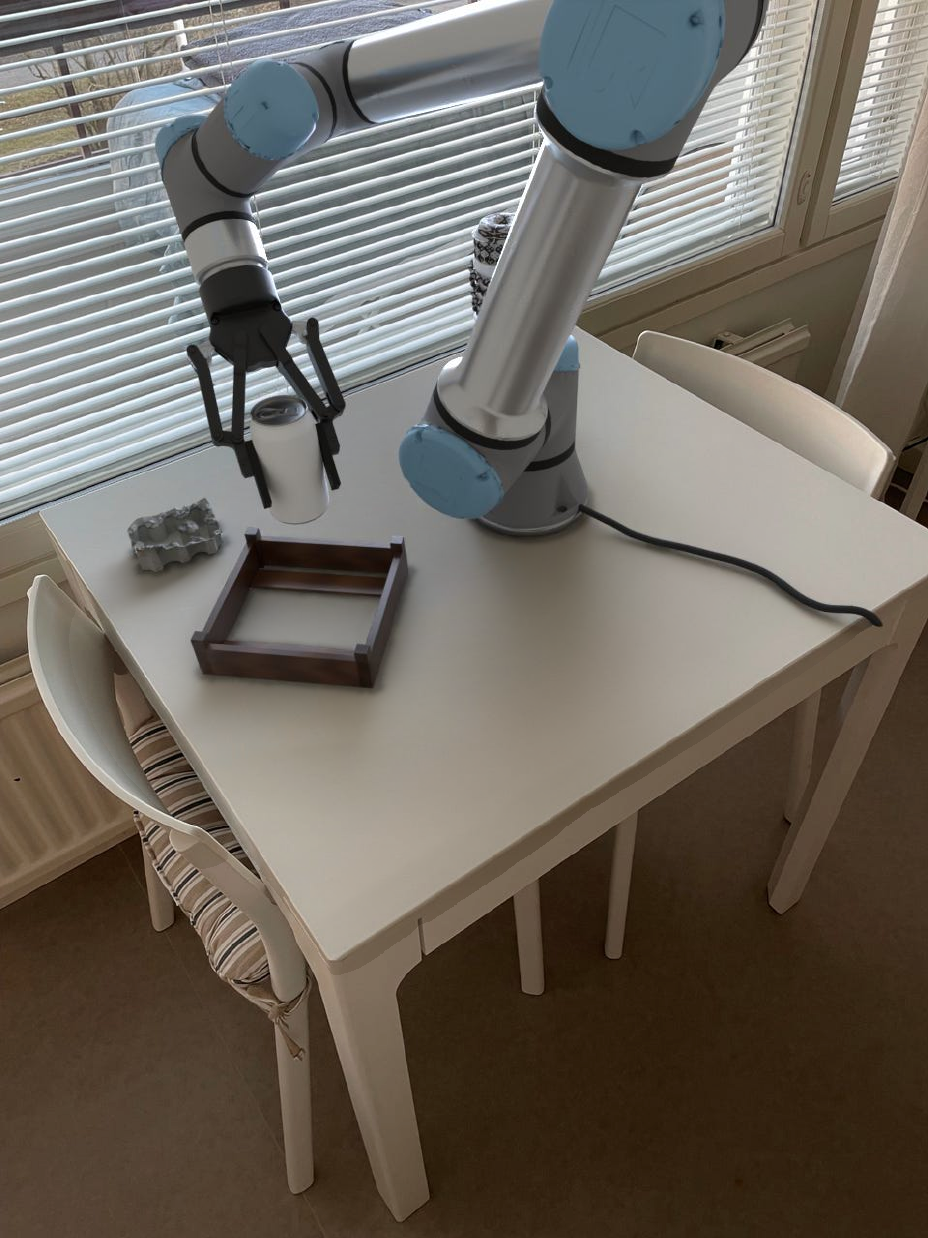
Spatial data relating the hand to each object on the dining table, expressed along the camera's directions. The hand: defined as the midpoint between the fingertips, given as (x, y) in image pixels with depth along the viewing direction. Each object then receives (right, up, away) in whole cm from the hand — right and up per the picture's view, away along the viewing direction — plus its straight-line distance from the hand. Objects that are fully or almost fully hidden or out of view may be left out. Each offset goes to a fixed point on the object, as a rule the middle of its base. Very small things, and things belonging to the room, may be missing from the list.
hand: (302, 495), depth 95 cm
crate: (-1, -13, +11) cm, 17 cm away
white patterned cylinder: (+28, +31, +52) cm, 67 cm away
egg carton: (-19, -4, +21) cm, 29 cm away
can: (-1, -1, +5) cm, 5 cm away
